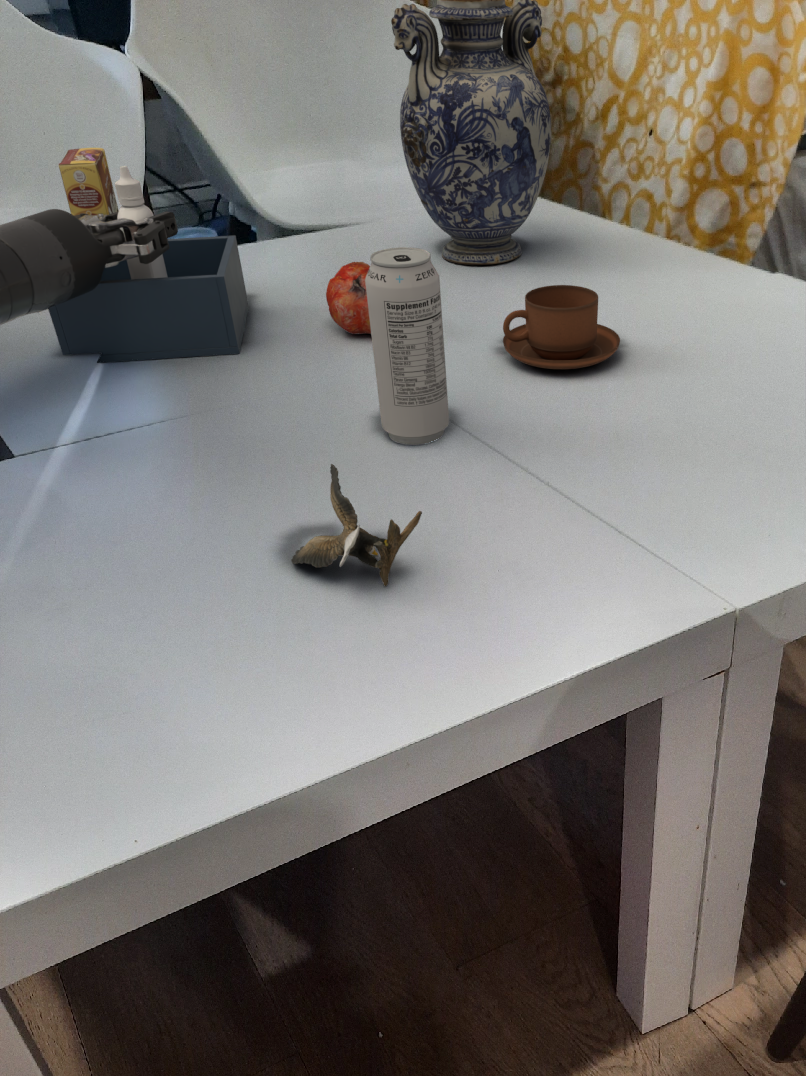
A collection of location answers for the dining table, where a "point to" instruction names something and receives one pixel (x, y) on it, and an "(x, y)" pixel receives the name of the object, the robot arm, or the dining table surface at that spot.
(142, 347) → the bin
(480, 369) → the dining table surface
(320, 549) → the eagle figurine
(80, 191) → the candy box
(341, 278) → the pomegranate
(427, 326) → the energy drink can
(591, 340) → the cup and saucer
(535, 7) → the decorative vase
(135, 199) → the eye dropper bottle
